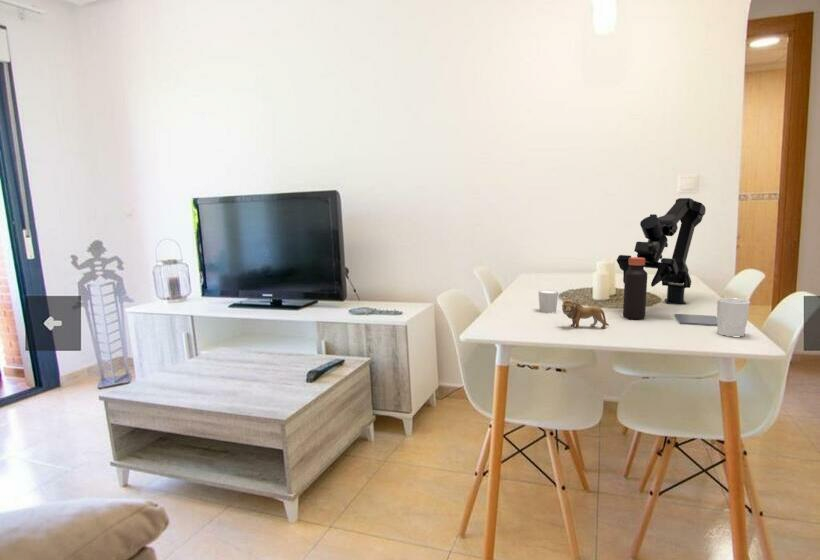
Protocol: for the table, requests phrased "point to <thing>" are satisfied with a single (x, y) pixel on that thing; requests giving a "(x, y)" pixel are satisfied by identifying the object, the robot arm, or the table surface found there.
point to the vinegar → (635, 289)
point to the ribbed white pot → (548, 301)
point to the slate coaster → (696, 319)
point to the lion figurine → (583, 313)
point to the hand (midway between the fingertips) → (637, 284)
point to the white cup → (732, 316)
